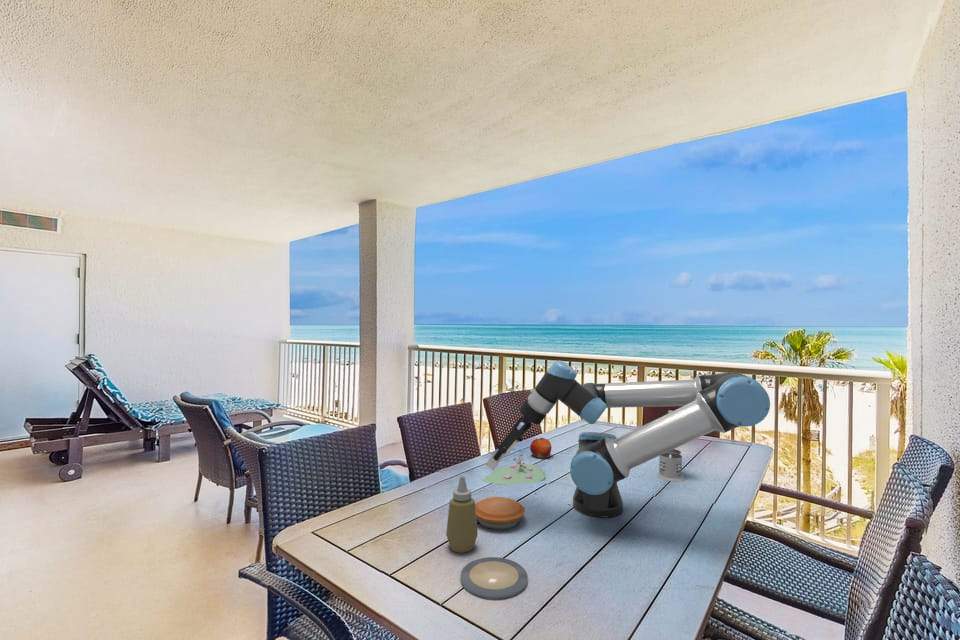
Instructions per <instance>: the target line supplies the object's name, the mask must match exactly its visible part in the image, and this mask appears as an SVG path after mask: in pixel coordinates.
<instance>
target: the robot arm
mask: <svg viewBox="0 0 960 640" xmlns="http://www.w3.org/2000/svg"><path fill="white" fill-rule="evenodd" d="M577 375H578V374H577V372H576V370H575V369H574V368H573V367H572V366H570V365H569V364H568V363H566V362H565V361H562V360H555V361H554V362H553V363H552V364H551V366H550V367H549V368H548V369H547V370H546V371H545V372H544V374H543V376H542V377H541V379H540V380H539V381H538V383H537V385H535V388H533V389H530V390H529V392H530V394H529V395H528V397H527V399H526V400H525V401H524V402H523V403H522V404H521V406H520V407H519V413H520V414H521V415H522V416H521V417H520V418H518V419H517V420H516V422H515V424H514V425H513V427H512V428H511V430H510V431H509V433H508V434H507V435H506V436H505V437H504V439H503V440H502V441H501V442H500V444H498V443H497V444H496V445H495V447H496V449H495V450H494V452H493V453H492V455H491V456H490V458H489V459H488V460H487V462H486V463H485V465H486V466H487V467H488V468H489V469H490V470H491V471H495V469H496V468H497V466H498V465H499V463H500V462H501V460H502V459H503V458H504V457H505V458H507V457H508V456H509V455H510V454H511V452H512V451H513V449H515V446H517V444H518V442H520V443H521V442H522V441H523V437H524V435H525V434H526V432H527V431H529V429H530V428H531V427H532V424H533V425H540V424H541V423H542V422H543V421H544V419H545V418H546V417H547V415H549V413H550V412H551V410H552V409H553V408H554V406H555V405H556V404H557V402H558V401H560V402H561V403H562V404H563V405H565V407H567V408H569V409H570V410H571V411H572V412H574V414H576V415H577V416H579V418H580V419H581V420H583V421H585V422H587V423H588V424H590V425H594V424H595V423H596V422H597V421H598V420H599V419H600V417H601V416H603V414H604V412H605V411H606V409H608V408H609V409H610V408H614V409H615V408H616V409H617V408H650V407H651V408H652V407H656V408H657V407H659V408H660V407H678V408H677V409H674V410H672V412H670V413H668V412H667V413H666V414H665V415H662V416H661V417H657V419H654V420H652V421H649V422H648V423H645V424H643V425H642V426H639V427H637V428H636V429H634V430H631V431H630V432H628V433H626V434H623V435H621V436H620V437H617V436H616V435H614V434H612V433H606V432H595V431H584V432H580V433H579V434H578V440H577V441H578V450H577V451H576V453H575V455H574V456H573V458H572V459H571V462H570V466H569V467H570V470H569V472H570V473H569V474H570V476H571V477H570V478H571V479H572V480H571V481H572V482H573V483H574V485H575V486H576V487H575V490H574V493H573V496H572V506H573V508H574V510H575V511H577V512H579V513H582V514H583V515H587V516H590V517H596V518H612V517H617V516H619V515H621V514H622V513H623V512H624V502H623V499H622V495H621V492H620V489H619V486H618V482H619V481H623V480H624V479H627V478H628V477H629V475H630V472H631V470H632V469H633V468H636V467H637V466H641V465H642V464H644V463H646V462H649V461H650V460H653V459H656V458H657V457H658V458H659V456H660V455H662V454H664V453H666V452H669V451H671V450H673V449H678V448H679V447H682V446H684V445H686V444H689V443H690V442H693V441H695V440H696V439H699V438H701V437H703V436H705V435H707V434H710V433H712V432H720V433H723V434H725V433H728V432H730V431H732V430H734V429H737V428H739V427H742V428H743V427H744V428H745V427H752V426H756V425H758V424H760V423H761V422H762V421H764V420H765V419H766V418H767V416H768V414H769V412H770V408H771V399H770V396H769V393H768V391H767V390H766V389H765V388H764V386H762V384H761V383H760V382H759V381H757V380H755V379H754V378H752V377H749V376H747V375H745V374H743V373H740V372H735V371H733V372H732V371H731V372H720V373H714V374H703V375H696V376H695V377H694V378H693V379H672V380H671V379H670V380H653V381H652V380H650V381H632V382H626V381H625V382H610V383H609V382H608V383H607V382H606V383H605V382H604V383H594V382H587V383H584V384H581V383H579V382H578V381H577V380H576V377H577Z"/></svg>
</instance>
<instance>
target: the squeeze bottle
mask: <svg viewBox="0 0 960 640" xmlns="http://www.w3.org/2000/svg"><path fill="white" fill-rule="evenodd" d="M457 485H458V486H457V488H455V489H454V490H453V492H452V494H453V495H452V498H451V499H450V500H449V504H448V515H447V523H446V524H447V525H446V531H445V532H446V534H445V535H446V538H447V541H448V542H447V543H448V544H449V548H450V549H451V550H452V551H453V552H455V553H459V554H463V553H468V552H470V551H472V550H473V549H474V547H475V544H476V540H477V538H478V534H479V533H478V522H477V517H476V510H475V503H476V500H475V499H474V498H472V490H471V489H469V488H468V486H467V481H466V478H465V476H463V475H461V476H460V477H459V481H458V484H457Z"/></svg>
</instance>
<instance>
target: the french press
mask: <svg viewBox="0 0 960 640" xmlns="http://www.w3.org/2000/svg"><path fill="white" fill-rule="evenodd" d="M672 411H673V410H669V409H668V411H667V414H668V413H670V412H672ZM681 454H682V451H681V450H679V449H677V448H675V449H673V450H671V451H669V452H666V453H664V454H662V455H660V456H658V458H659V459H658V460H659V462H658V463H659V464H658V466H659V469H658V472H657V473H656V477H657V478H658V479H661V480H663V481H667V482H668V481H669V482H683V481H685V479H686V478H685V477H684V476H683V456H682V455H681ZM670 455H671V456H670Z"/></svg>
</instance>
